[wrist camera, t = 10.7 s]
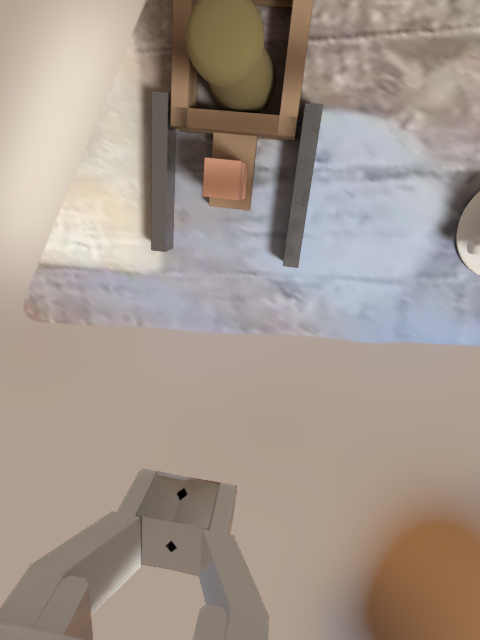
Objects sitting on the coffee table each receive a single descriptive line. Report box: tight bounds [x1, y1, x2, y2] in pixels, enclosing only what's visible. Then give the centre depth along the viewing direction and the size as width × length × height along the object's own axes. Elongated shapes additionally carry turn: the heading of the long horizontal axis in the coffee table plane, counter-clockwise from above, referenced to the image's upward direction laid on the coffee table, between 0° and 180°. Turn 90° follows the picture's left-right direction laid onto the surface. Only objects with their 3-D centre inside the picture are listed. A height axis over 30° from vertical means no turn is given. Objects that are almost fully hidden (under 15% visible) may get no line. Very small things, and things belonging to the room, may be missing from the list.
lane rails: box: [151, 91, 323, 268], centre depth 34 cm, size 14×15×2 cm
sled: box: [171, 0, 313, 210], centre depth 30 cm, size 18×11×6 cm, turn 174°
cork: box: [186, 0, 276, 114], centre depth 27 cm, size 6×6×11 cm
